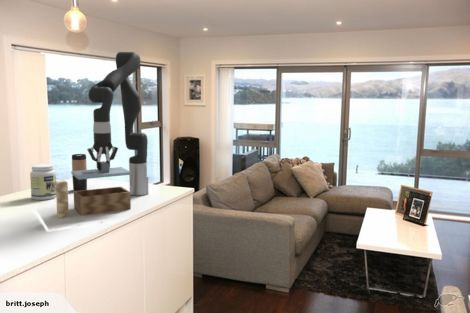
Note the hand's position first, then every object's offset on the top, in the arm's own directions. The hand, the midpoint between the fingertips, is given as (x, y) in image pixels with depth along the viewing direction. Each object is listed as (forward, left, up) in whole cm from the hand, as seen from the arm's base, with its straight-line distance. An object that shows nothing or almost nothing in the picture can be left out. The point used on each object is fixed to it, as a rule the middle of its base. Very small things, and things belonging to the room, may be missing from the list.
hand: (103, 169), depth 193 cm
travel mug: (0, -50, -20) cm, 54 cm away
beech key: (+19, +5, -19) cm, 28 cm away
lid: (+1, 0, -2) cm, 2 cm away
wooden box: (+1, 0, -19) cm, 19 cm away
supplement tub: (+20, -40, -20) cm, 49 cm away
